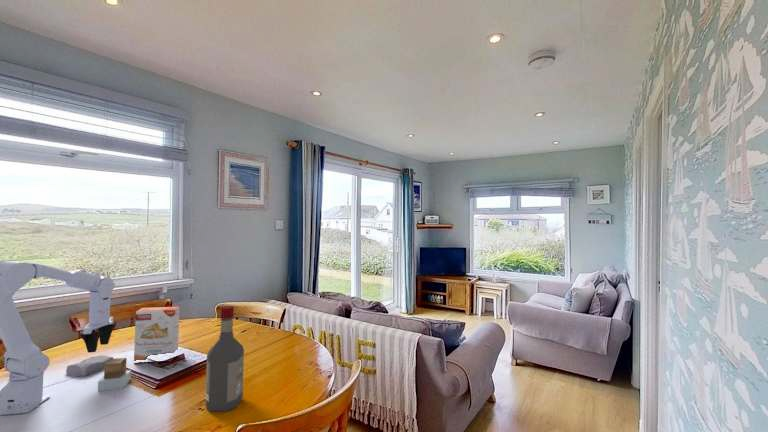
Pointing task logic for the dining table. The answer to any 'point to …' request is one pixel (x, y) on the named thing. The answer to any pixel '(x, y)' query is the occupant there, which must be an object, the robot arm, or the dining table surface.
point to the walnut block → (115, 368)
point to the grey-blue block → (114, 382)
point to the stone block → (88, 366)
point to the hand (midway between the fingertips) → (98, 348)
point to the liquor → (225, 368)
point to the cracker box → (156, 331)
